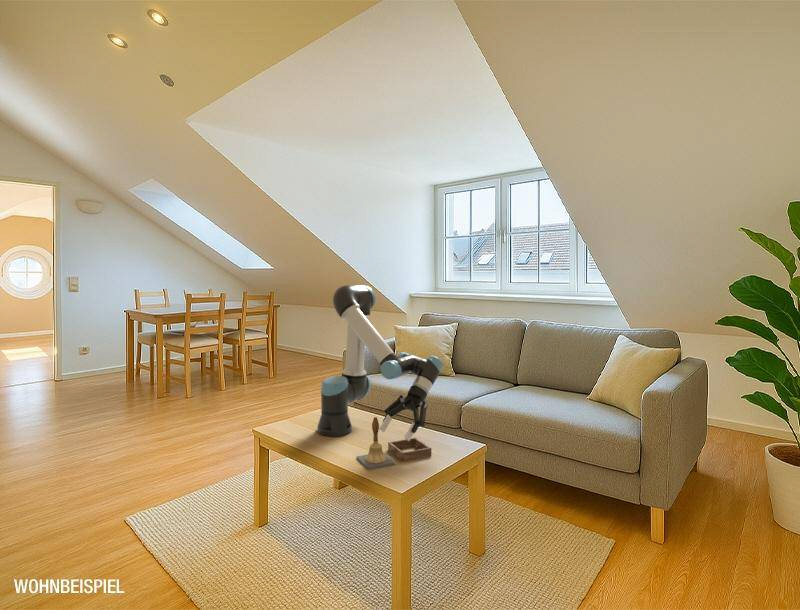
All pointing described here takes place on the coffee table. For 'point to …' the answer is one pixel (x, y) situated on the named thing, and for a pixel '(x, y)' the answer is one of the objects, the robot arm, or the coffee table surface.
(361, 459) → the grey rubber pad
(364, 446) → the coffee table surface
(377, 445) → the hand bell
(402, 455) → the brown wooden square frame
